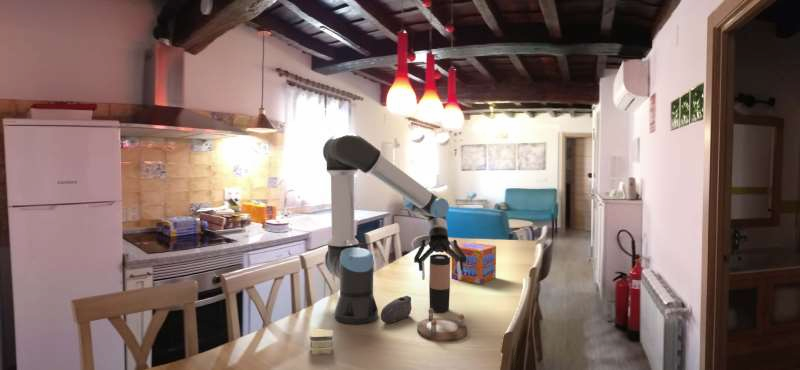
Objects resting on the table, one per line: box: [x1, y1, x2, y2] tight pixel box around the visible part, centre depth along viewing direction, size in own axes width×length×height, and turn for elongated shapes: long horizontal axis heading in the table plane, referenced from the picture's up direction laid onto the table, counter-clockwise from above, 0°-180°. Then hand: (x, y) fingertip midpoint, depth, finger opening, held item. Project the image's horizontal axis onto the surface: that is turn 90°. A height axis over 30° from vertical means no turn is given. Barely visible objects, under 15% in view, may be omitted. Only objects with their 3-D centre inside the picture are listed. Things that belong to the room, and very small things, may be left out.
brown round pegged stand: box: [416, 307, 468, 343], centre depth 134 cm, size 16×16×6 cm
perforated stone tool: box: [380, 295, 413, 324], centre depth 144 cm, size 15×5×7 cm, turn 136°
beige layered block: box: [308, 328, 334, 355], centre depth 120 cm, size 10×9×6 cm
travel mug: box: [428, 253, 451, 314], centre depth 154 cm, size 8×8×20 cm
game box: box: [451, 241, 497, 285], centre depth 199 cm, size 16×16×16 cm
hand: (441, 278), depth 155 cm, fingers open, 13 cm apart
